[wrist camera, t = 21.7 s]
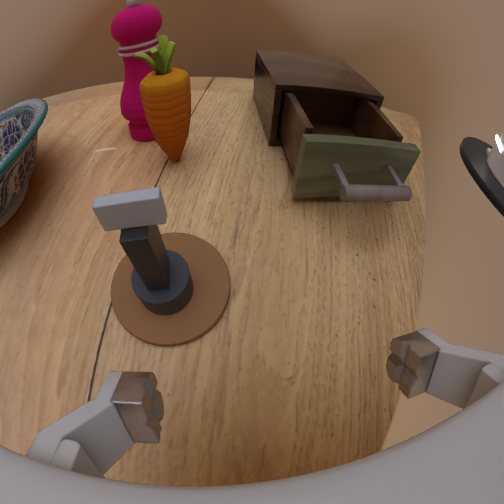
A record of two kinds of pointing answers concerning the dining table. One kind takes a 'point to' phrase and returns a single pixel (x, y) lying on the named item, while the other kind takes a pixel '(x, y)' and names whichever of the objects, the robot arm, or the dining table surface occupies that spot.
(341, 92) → the cabinet
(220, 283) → the coaster
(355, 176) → the drawer
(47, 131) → the dining table surface
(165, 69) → the carrot
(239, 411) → the dining table surface
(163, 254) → the dark grey tall piece
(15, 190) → the bowl
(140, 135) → the pepper mill
